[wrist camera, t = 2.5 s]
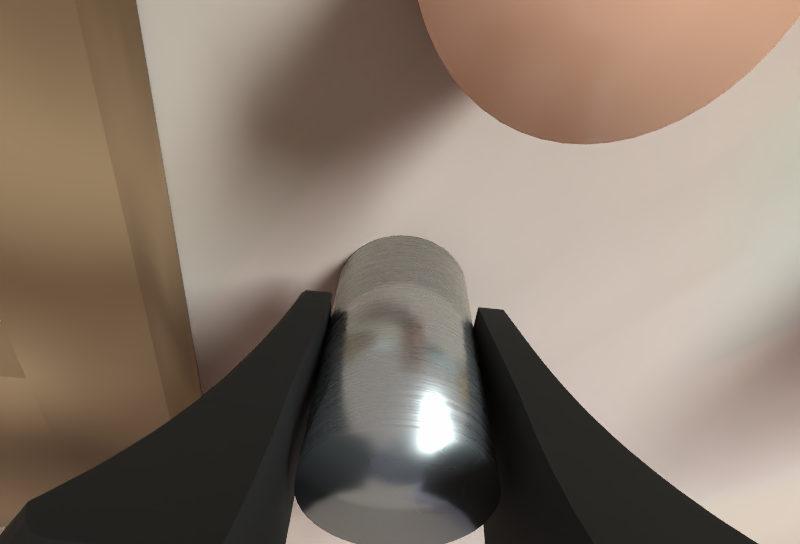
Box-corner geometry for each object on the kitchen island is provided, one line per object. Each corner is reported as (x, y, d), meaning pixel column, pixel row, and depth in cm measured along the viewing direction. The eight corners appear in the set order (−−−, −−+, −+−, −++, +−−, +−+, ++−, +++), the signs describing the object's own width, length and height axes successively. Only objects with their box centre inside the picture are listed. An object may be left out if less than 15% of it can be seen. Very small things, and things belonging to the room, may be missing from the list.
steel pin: (453, 345, 14) (478, 555, 9) (336, 333, 14) (294, 542, 9) (477, 243, 12) (523, 438, 7) (341, 229, 12) (292, 418, 7)
